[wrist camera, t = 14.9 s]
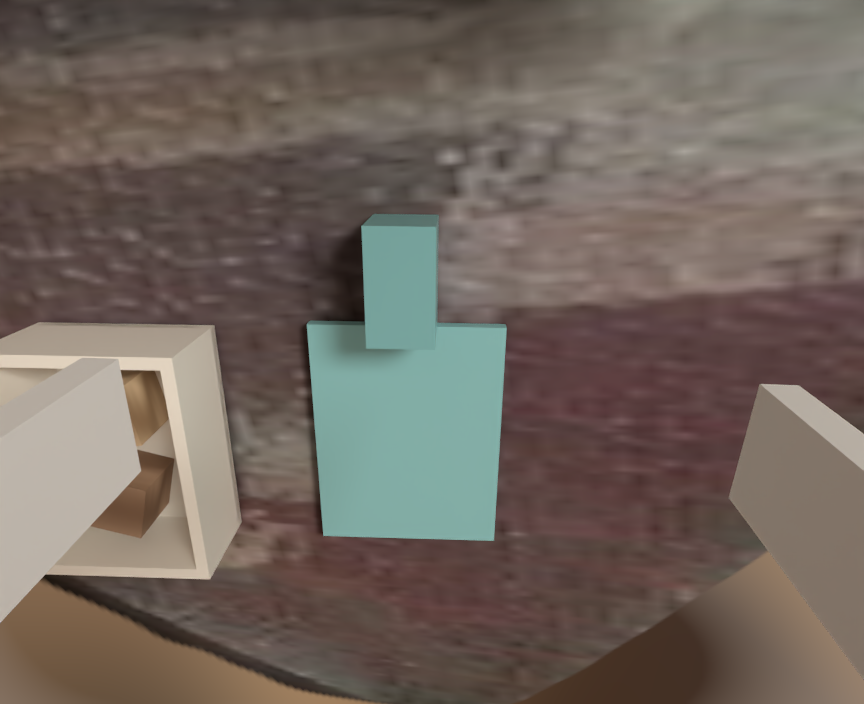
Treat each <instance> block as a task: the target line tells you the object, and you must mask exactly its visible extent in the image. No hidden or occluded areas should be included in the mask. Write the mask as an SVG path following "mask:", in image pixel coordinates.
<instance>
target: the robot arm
mask: <svg viewBox="0 0 864 704" xmlns="http://www.w3.org/2000/svg"><path fill="white" fill-rule="evenodd" d="M140 472H141V467H140V462H139V457H138V453H137V448H136V443H135V438H134V433H133V428H132V423H131V419H130V414H129V409H128V404H127V399H126V394H125V389H124V385H123V380H122V375H121V370H120V365H119V360H118V359H107V358H81V359H79V360H77V361H76V362H74V363H72V364H71V365H69V366H67V367H66V368H64V369H62V370H61V371H59V372H57V373H56V374H54V375H52V376H51V377H49V378H47V379H46V380H44V381H43V382H41V383H39V384H38V385H36V386H34V387H33V388H31V389H29V390H28V391H26V392H24V393H23V394H21V395H19V396H18V397H16V398H14V399H13V400H11V401H9V402H8V403H6V404H4V405H3V406H1V407H0V623H1V621H2V620H3V619H4V618H5V617H6V616H7V615H8V614H9V613H10V612H11V611H12V610H13V608H15V606H16V605H17V604H18V603H19V602H20V601H21V600H22V599H23V598H24V597H25V596H26V595H27V593H28V592H29V591H30V590H31V589H32V588H33V587H34V586H35V585H36V584H37V583H38V582H39V581H40V580H41V578H42V577H43V576H44V575H45V574H46V573H47V572H48V571H49V570H50V569H51V568H52V567H53V566H54V564H55V563H56V562H57V561H58V560H59V559H60V558H61V557H62V556H63V555H64V554H65V553H66V552H67V550H68V549H69V548H70V547H71V546H72V545H73V544H74V543H75V542H76V541H77V540H78V539H79V538H80V536H81V535H82V534H83V533H84V532H85V531H86V530H87V529H88V528H89V527H90V526H91V525H92V524H93V523H94V521H95V520H96V519H97V518H98V517H99V516H100V515H101V514H102V513H103V512H104V511H105V510H106V509H107V507H108V506H109V505H110V504H111V503H112V502H113V501H114V500H115V499H116V498H117V497H118V496H119V495H120V493H121V492H122V491H123V490H124V489H125V488H126V487H127V486H128V485H129V484H130V483H131V482H132V481H133V479H134V478H135V477H136V476H137V475H138V474H139V473H140ZM729 499H730V500H731V501H732V503H733V504H734V505H735V507H736V508H737V509H738V511H739V512H740V514H741V515H742V516H743V518H744V519H745V520H746V522H747V523H748V524H749V526H750V527H751V528H752V530H753V531H754V532H755V534H756V535H757V536H758V538H759V539H760V541H761V542H762V543H763V545H764V546H765V547H766V549H767V550H768V551H769V553H770V554H771V555H772V557H773V558H774V559H775V561H776V562H777V563H778V565H779V566H780V568H781V569H782V570H783V571H784V573H785V574H786V575H787V577H788V578H789V580H790V581H791V582H792V584H793V585H794V586H795V588H796V589H797V591H798V592H799V593H800V595H801V596H802V597H803V599H804V600H805V601H806V603H807V604H808V605H809V607H810V608H811V609H812V611H813V612H814V613H815V615H816V616H817V617H818V619H819V620H820V622H821V623H822V624H823V626H824V627H825V628H826V630H827V631H828V632H829V633H830V635H831V636H832V638H833V639H834V640H835V642H836V643H837V645H838V646H839V647H840V649H841V650H842V651H843V653H844V654H845V655H846V657H847V658H848V659H849V661H850V662H851V663H852V665H853V666H854V667H855V669H856V670H857V672H858V673H859V674H860V676H861V677H862V678H863V680H864V434H863V433H862V432H860V431H859V430H858V429H856V428H855V427H854V426H852V425H851V424H850V423H848V422H847V421H846V420H844V419H843V418H842V417H840V416H839V415H838V414H836V413H835V412H834V411H832V410H831V409H830V408H828V407H827V406H826V405H824V404H823V403H821V402H820V401H819V400H817V399H816V398H815V397H813V396H812V395H811V394H809V393H808V392H807V391H805V390H804V389H803V388H801V387H800V386H799V385H773V384H760V385H759V389H758V392H757V396H756V400H755V403H754V407H753V411H752V414H751V418H750V422H749V425H748V429H747V433H746V436H745V440H744V444H743V447H742V451H741V455H740V458H739V462H738V466H737V469H736V473H735V477H734V480H733V484H732V488H731V491H730V495H729Z"/></svg>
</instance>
